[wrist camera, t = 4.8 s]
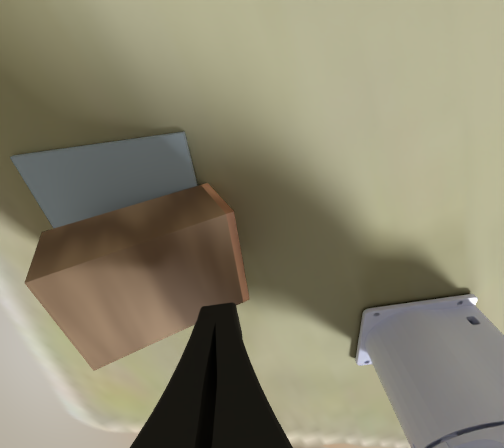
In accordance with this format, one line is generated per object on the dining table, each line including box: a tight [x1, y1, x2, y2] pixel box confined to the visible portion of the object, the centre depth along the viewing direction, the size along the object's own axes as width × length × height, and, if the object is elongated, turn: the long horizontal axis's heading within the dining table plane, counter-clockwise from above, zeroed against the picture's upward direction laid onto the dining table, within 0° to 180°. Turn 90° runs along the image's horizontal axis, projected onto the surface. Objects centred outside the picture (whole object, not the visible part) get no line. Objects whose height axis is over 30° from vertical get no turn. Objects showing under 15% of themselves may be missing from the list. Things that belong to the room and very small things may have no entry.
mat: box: [10, 132, 198, 228], centre depth 18 cm, size 9×12×1 cm
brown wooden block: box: [25, 183, 249, 370], centre depth 15 cm, size 4×6×8 cm
